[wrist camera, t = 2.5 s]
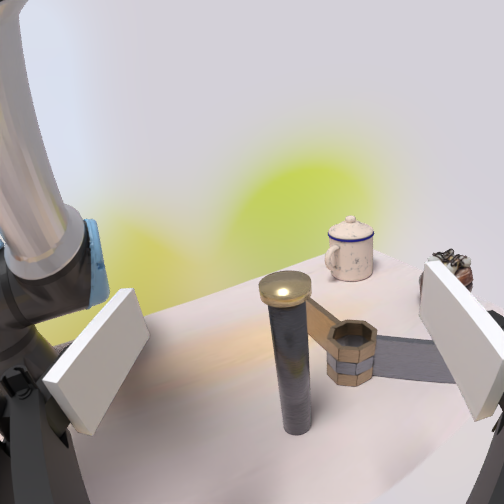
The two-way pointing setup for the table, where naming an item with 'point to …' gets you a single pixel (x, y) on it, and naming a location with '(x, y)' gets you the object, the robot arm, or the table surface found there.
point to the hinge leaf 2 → (396, 359)
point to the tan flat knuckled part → (328, 332)
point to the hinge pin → (290, 344)
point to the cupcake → (454, 267)
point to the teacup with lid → (350, 250)
